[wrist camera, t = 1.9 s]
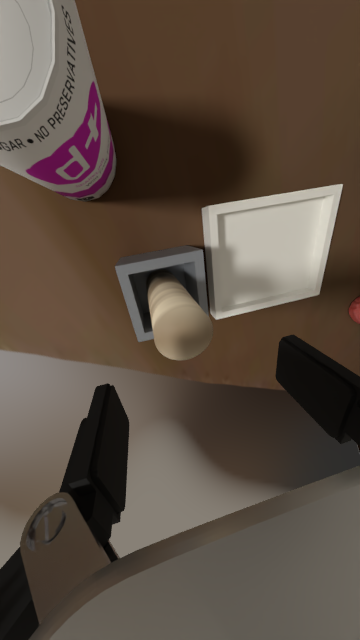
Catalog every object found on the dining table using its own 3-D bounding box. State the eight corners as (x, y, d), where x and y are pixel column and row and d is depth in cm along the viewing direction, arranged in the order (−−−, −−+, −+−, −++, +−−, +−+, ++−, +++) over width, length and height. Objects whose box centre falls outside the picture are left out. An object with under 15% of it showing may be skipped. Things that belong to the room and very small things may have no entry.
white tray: (201, 208, 23) (208, 205, 21) (325, 188, 25) (343, 183, 23) (210, 313, 30) (216, 319, 28) (306, 290, 32) (319, 294, 30)
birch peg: (142, 272, 24) (147, 315, 12) (174, 266, 25) (210, 301, 12) (149, 303, 26) (160, 366, 14) (179, 296, 27) (214, 352, 14)
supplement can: (133, 170, 20) (124, 53, 7) (77, 218, 21) (-25, 195, 8) (71, 73, 16) (-207, -590, 3) (6, 137, 17) (-428, -178, 4)
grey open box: (120, 257, 24) (114, 266, 18) (186, 245, 25) (202, 249, 19) (138, 318, 28) (138, 342, 22) (194, 305, 29) (209, 324, 23)
